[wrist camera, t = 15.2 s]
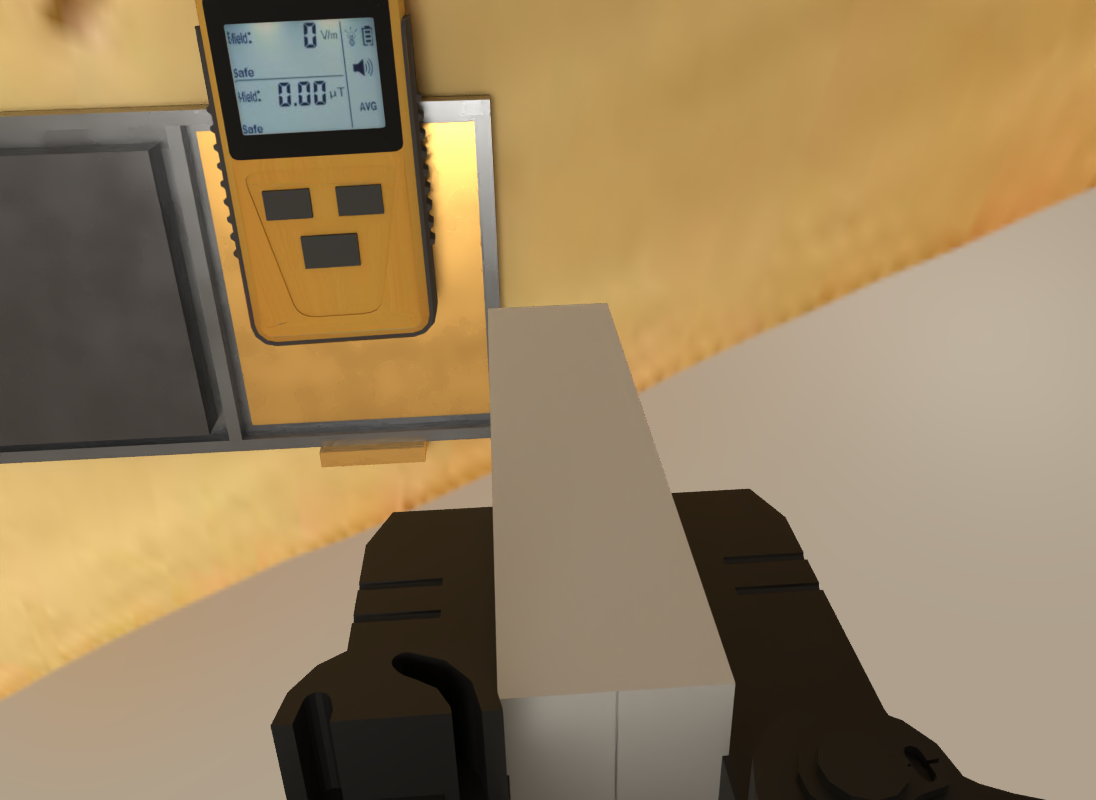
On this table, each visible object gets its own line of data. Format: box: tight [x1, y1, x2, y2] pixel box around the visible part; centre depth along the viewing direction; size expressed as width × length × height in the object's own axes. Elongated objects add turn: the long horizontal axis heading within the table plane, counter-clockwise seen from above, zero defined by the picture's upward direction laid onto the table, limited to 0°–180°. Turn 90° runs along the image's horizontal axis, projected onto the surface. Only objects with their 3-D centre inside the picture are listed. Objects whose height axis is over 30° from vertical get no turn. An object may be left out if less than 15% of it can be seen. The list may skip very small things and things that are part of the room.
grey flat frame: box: [0, 95, 500, 467], centre depth 42 cm, size 17×26×2 cm, turn 91°
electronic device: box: [195, 0, 438, 346], centre depth 38 cm, size 8×16×3 cm, turn 2°
